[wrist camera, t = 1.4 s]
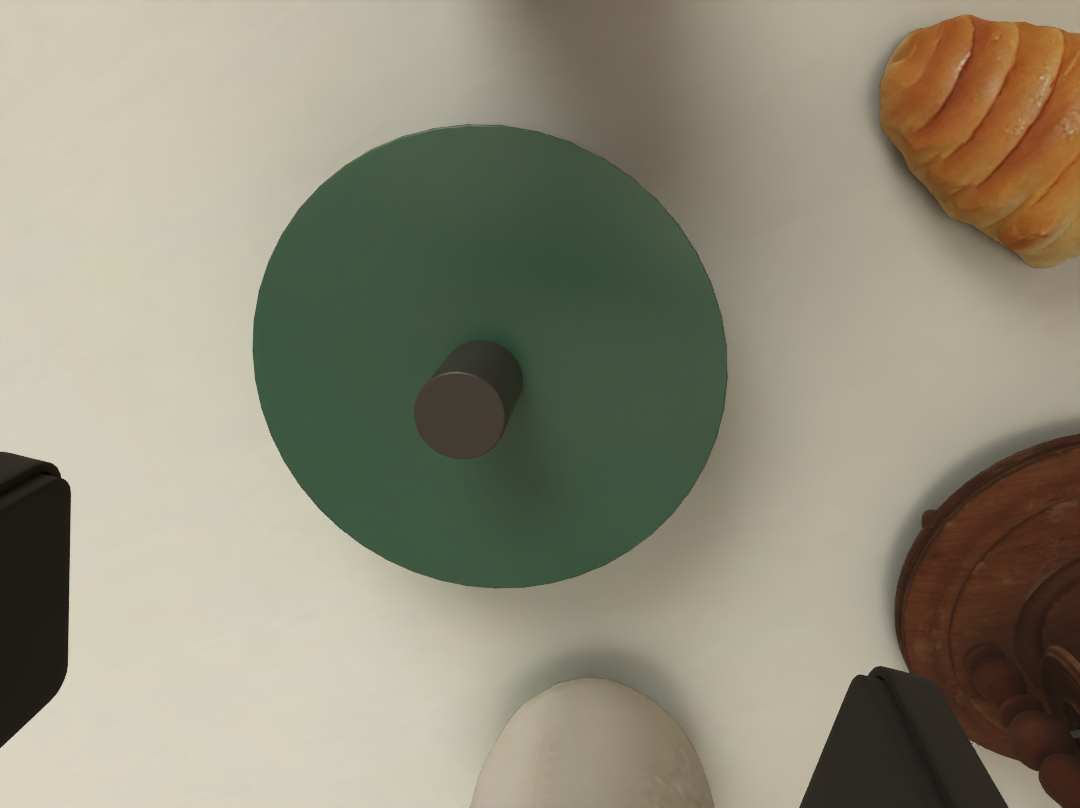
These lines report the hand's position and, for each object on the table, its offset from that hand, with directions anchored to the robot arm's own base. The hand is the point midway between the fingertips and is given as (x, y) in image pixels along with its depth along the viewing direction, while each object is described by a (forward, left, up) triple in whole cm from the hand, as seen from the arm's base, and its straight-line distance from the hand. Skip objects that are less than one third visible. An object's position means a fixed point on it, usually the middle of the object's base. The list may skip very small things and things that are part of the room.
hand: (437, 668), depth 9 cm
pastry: (+7, +15, -24) cm, 29 cm away
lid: (-1, -3, -19) cm, 19 cm away
